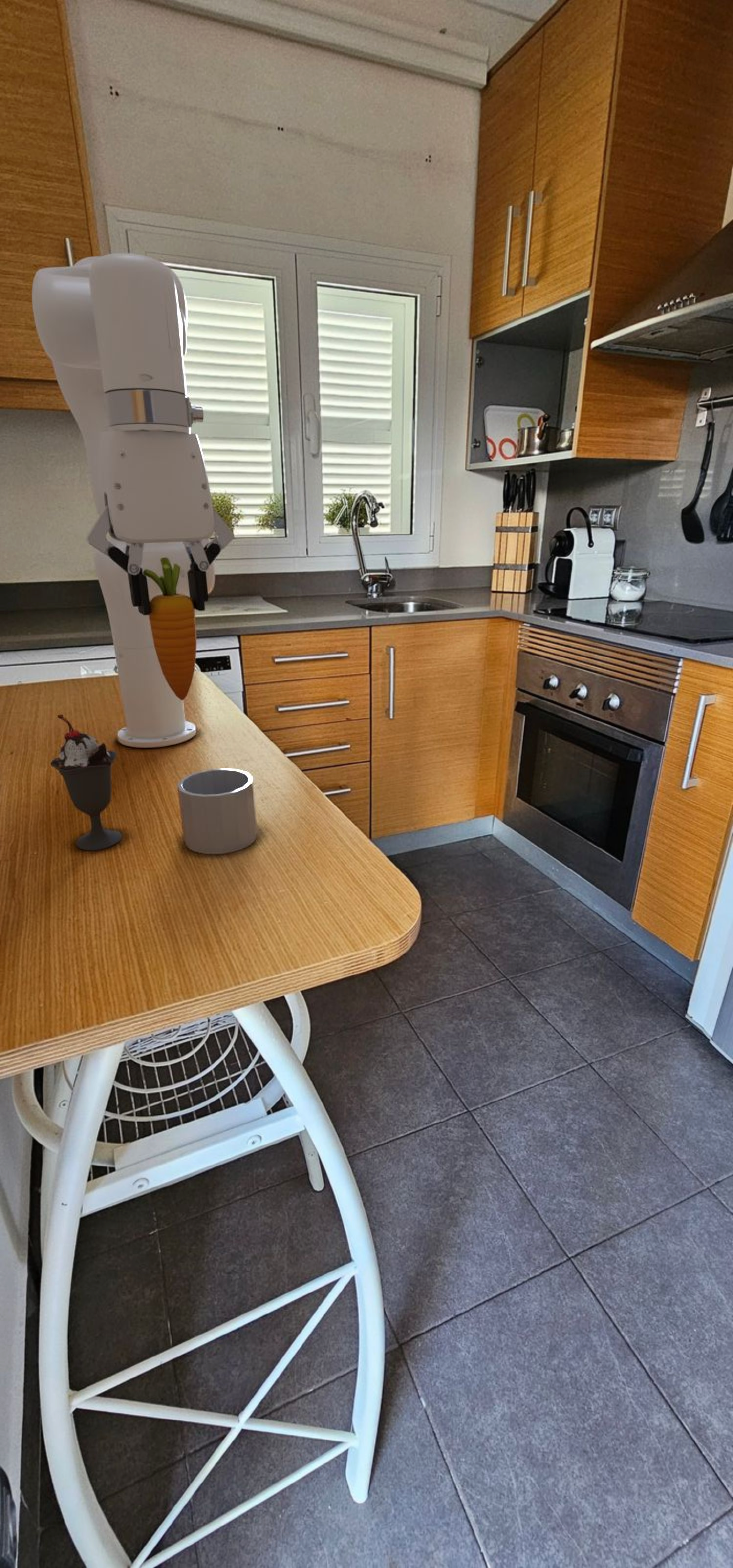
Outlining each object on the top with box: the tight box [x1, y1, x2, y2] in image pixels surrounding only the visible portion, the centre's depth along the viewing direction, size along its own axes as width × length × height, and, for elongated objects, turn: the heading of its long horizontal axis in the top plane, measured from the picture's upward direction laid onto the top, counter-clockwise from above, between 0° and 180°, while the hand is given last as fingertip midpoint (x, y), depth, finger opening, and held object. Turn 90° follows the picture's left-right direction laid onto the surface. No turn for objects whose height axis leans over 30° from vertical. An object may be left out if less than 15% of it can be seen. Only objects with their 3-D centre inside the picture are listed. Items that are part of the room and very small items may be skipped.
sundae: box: [50, 714, 123, 851], centre depth 75 cm, size 7×7×15 cm
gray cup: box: [176, 767, 258, 855], centre depth 77 cm, size 8×8×7 cm
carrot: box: [143, 558, 198, 701], centre depth 73 cm, size 5×5×15 cm
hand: (171, 609), depth 72 cm, fingers closed on carrot, 5 cm apart
